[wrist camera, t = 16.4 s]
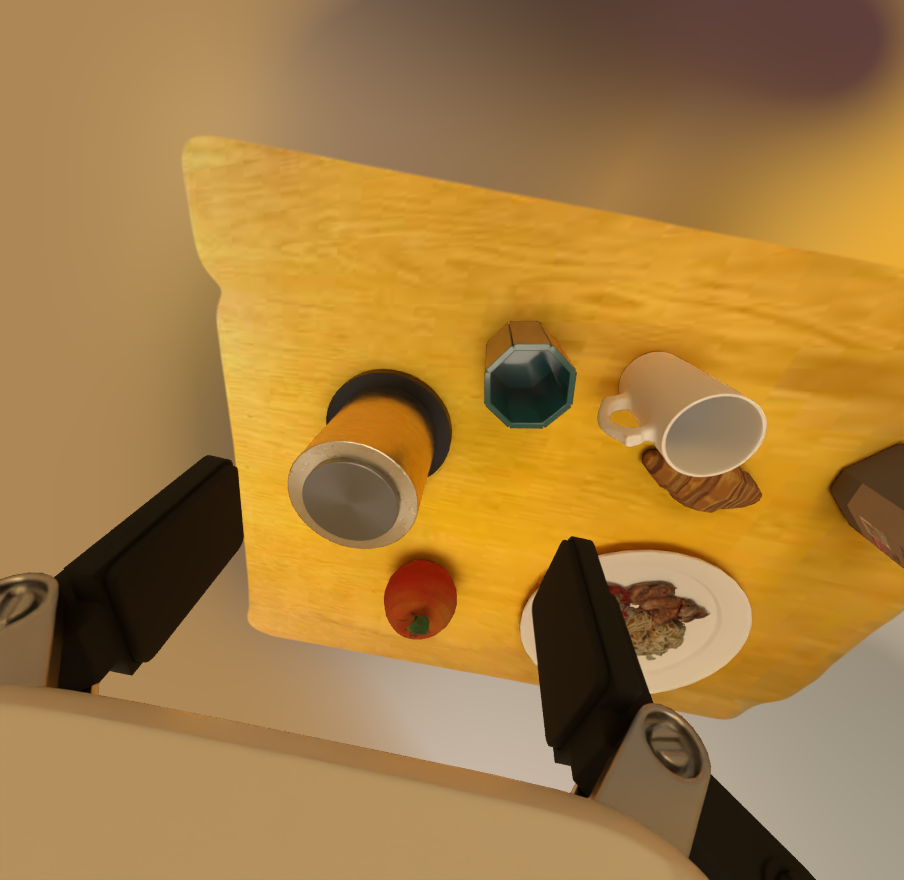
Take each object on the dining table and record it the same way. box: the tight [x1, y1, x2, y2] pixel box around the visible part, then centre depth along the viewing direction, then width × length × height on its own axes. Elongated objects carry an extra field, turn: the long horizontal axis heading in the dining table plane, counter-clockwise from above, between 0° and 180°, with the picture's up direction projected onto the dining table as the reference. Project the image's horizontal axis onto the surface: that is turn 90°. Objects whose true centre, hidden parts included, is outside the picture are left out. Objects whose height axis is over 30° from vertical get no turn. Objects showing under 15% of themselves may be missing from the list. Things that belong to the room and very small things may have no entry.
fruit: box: [384, 560, 457, 639], centre depth 49 cm, size 10×10×10 cm
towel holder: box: [288, 369, 452, 549], centre depth 37 cm, size 14×14×14 cm
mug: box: [597, 352, 767, 477], centre depth 32 cm, size 10×7×12 cm, turn 103°
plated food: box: [520, 550, 752, 694], centre depth 52 cm, size 30×30×3 cm
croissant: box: [642, 449, 762, 513], centre depth 39 cm, size 14×7×5 cm, turn 71°
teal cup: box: [484, 321, 577, 429], centre depth 34 cm, size 7×7×9 cm
